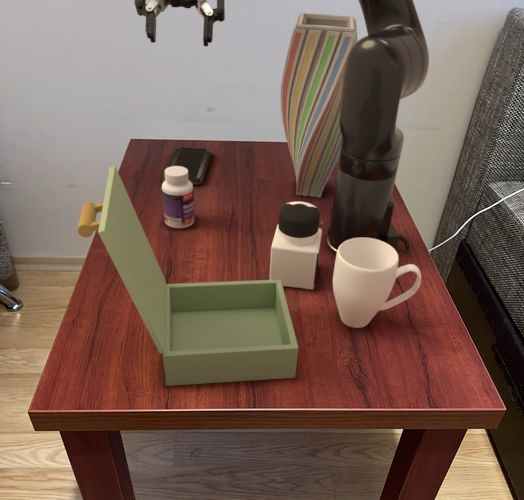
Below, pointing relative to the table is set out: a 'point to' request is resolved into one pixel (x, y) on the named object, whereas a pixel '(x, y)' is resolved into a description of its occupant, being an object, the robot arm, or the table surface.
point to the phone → (191, 162)
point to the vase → (315, 96)
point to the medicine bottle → (296, 246)
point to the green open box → (228, 332)
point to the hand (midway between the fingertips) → (179, 41)
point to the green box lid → (129, 254)
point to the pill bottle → (178, 198)
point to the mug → (367, 279)
